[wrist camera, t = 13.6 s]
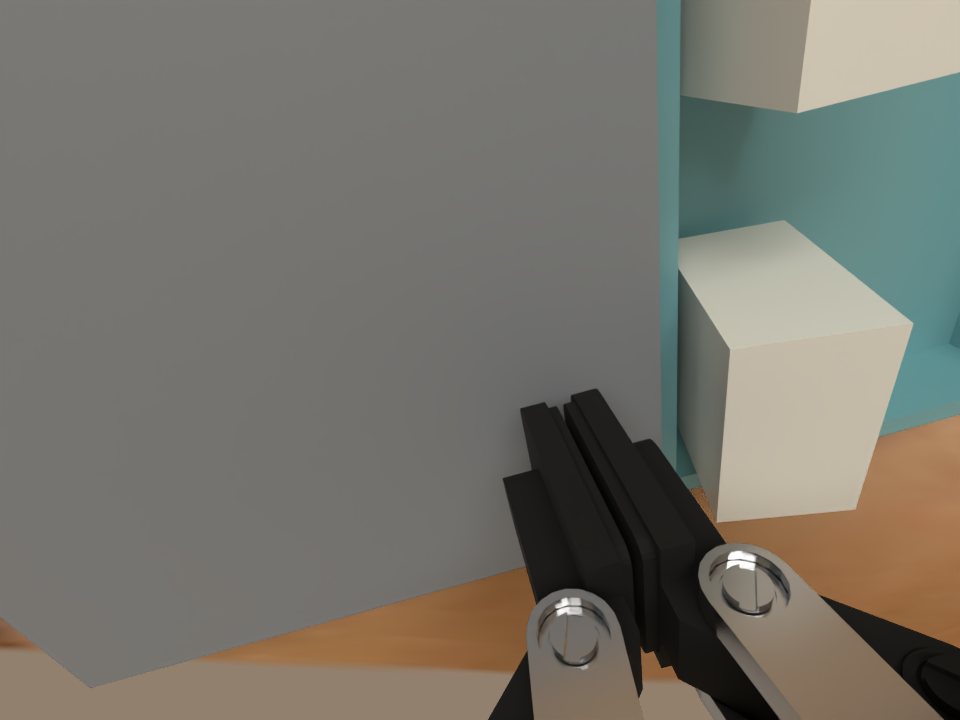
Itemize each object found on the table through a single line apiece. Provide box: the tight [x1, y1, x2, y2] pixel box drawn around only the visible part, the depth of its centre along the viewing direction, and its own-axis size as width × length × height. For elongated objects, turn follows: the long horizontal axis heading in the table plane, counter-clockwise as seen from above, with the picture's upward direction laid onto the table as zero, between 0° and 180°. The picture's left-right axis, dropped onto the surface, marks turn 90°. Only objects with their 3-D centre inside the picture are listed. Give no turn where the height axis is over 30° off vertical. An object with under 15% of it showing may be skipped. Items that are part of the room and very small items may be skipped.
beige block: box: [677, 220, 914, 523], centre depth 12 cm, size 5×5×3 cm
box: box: [656, 0, 960, 490], centre depth 12 cm, size 12×18×3 cm, turn 12°
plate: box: [0, 0, 662, 688], centre depth 11 cm, size 16×18×4 cm
